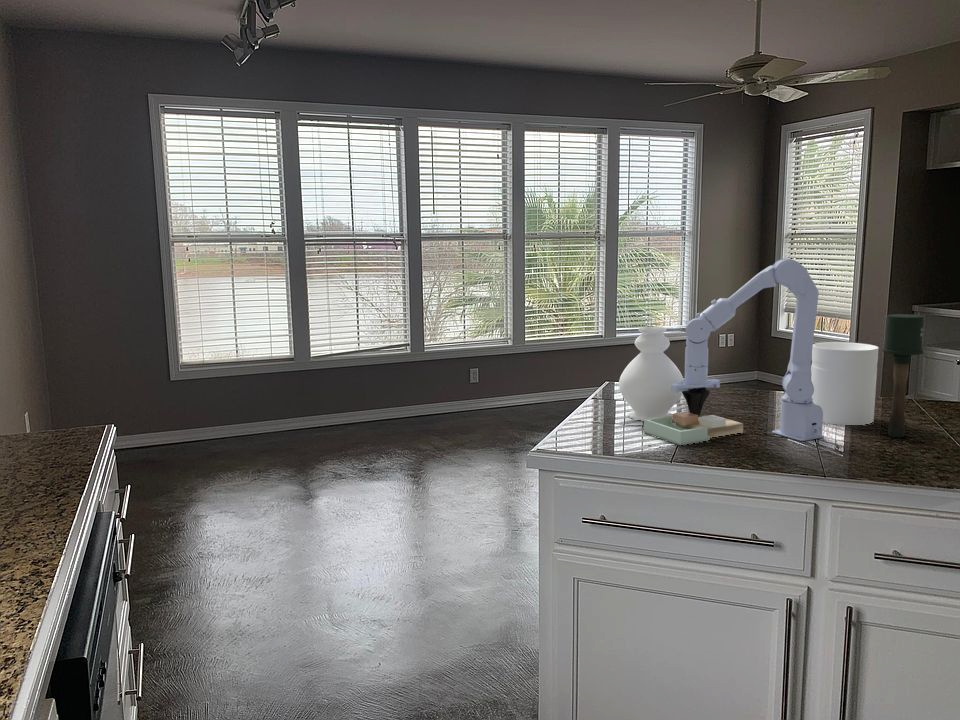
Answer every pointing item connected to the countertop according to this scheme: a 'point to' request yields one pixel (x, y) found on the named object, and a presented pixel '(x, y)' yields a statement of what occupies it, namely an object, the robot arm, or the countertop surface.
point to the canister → (845, 381)
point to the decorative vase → (650, 377)
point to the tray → (674, 431)
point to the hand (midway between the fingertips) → (694, 416)
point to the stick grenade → (901, 361)
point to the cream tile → (712, 421)
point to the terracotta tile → (685, 418)
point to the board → (718, 428)
